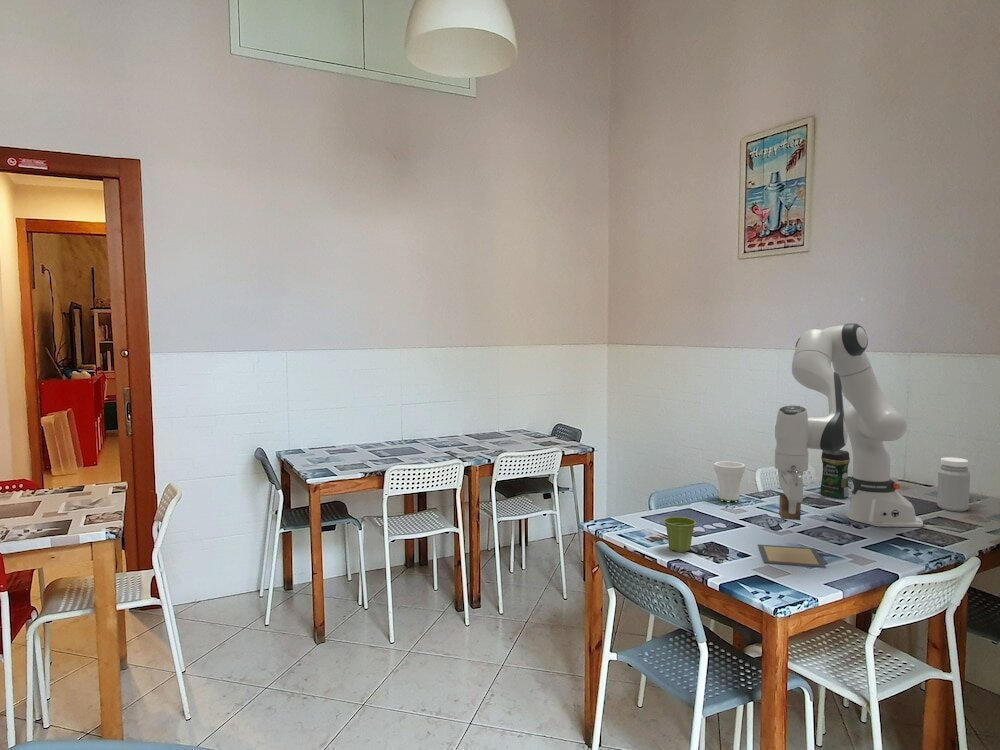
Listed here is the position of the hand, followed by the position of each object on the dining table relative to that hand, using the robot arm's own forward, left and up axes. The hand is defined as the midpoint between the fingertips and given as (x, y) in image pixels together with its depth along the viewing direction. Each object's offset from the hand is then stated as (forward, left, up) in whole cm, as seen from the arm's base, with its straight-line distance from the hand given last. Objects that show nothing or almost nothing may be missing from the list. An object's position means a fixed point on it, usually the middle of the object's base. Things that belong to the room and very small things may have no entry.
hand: (790, 510), depth 193 cm
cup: (+13, -61, -14) cm, 64 cm away
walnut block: (0, 0, -2) cm, 2 cm away
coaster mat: (0, 0, -14) cm, 14 cm away
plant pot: (+31, +1, -14) cm, 34 cm away
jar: (-64, -67, -14) cm, 94 cm away
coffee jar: (-27, -77, -14) cm, 83 cm away
